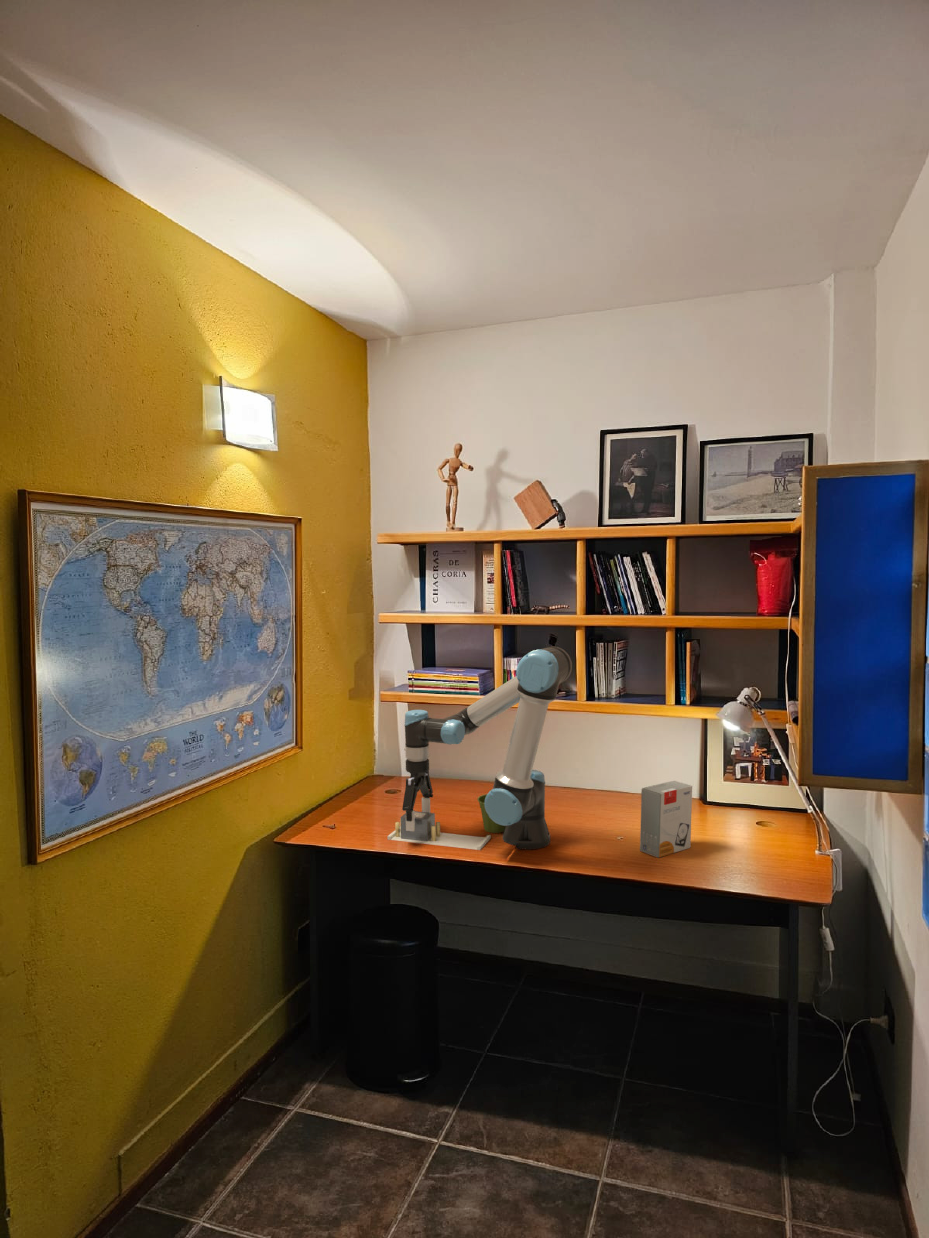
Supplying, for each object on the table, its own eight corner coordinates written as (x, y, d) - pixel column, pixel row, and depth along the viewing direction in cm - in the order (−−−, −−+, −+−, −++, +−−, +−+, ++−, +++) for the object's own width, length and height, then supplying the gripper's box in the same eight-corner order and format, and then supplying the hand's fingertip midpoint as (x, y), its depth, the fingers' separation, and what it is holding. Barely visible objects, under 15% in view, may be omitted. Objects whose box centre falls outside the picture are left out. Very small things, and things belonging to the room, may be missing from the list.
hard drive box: (658, 858, 239) (659, 793, 238) (639, 851, 246) (639, 787, 244) (691, 847, 248) (692, 784, 247) (672, 840, 255) (672, 779, 253)
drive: (434, 834, 259) (434, 812, 258) (427, 841, 252) (426, 819, 252) (409, 831, 262) (408, 810, 261) (400, 838, 255) (400, 816, 255)
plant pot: (470, 831, 265) (470, 798, 264) (496, 823, 272) (496, 791, 271) (494, 840, 256) (494, 806, 255) (520, 832, 263) (520, 799, 262)
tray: (490, 841, 255) (490, 824, 255) (480, 853, 245) (480, 835, 244) (401, 831, 265) (400, 814, 265) (387, 842, 255) (387, 825, 254)
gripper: (420, 749, 268) (422, 811, 270) (390, 767, 245) (392, 835, 246) (441, 750, 266) (442, 813, 267) (413, 769, 242) (414, 837, 244)
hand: (418, 823), depth 257 cm, fingers open, 13 cm apart
